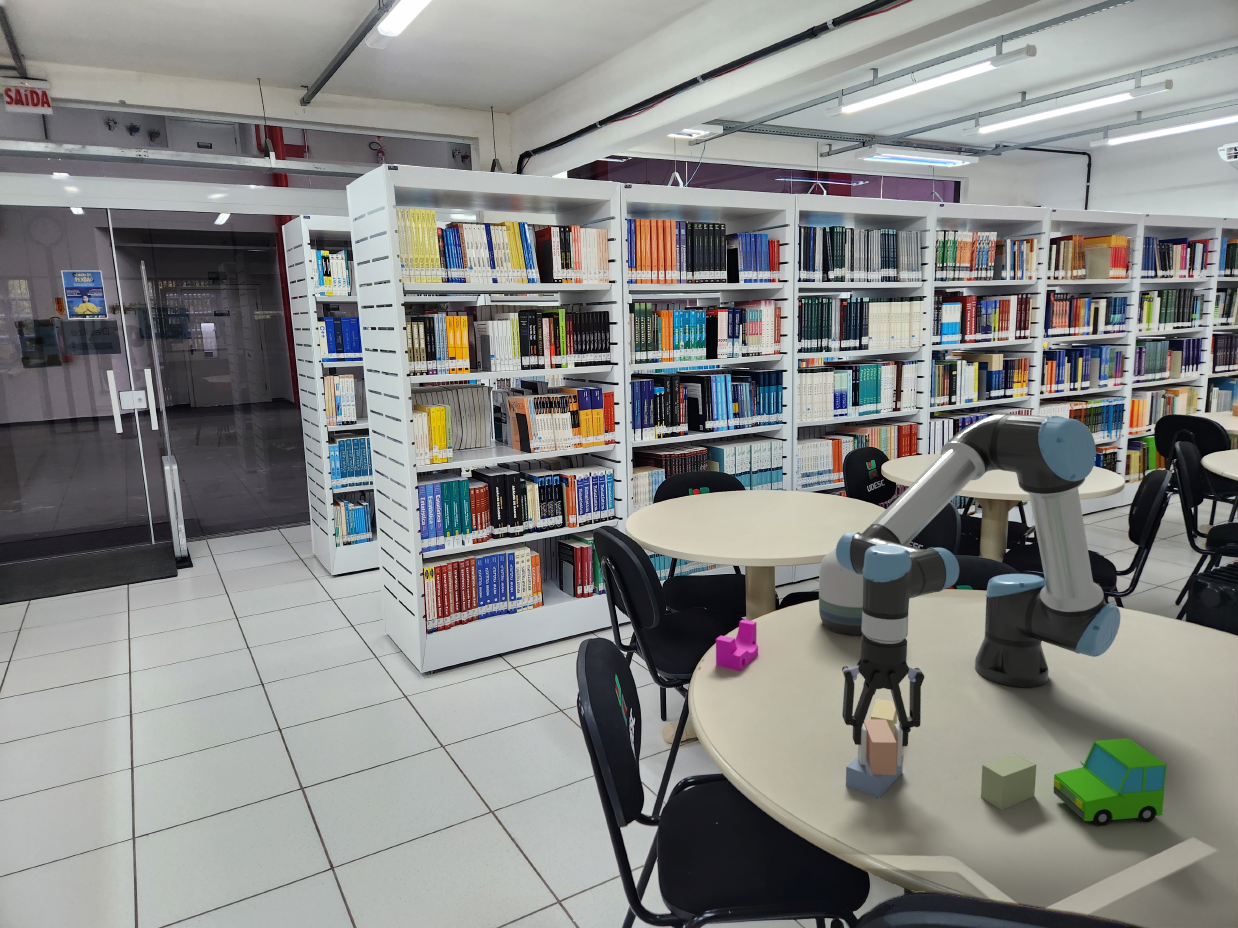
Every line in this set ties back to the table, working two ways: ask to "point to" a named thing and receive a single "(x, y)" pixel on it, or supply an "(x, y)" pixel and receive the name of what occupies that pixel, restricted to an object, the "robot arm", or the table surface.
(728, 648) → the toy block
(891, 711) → the brick ochre
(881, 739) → the brick terracotta
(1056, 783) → the toy car
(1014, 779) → the brick olive
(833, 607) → the vase
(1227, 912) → the table surface
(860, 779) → the brick slate
